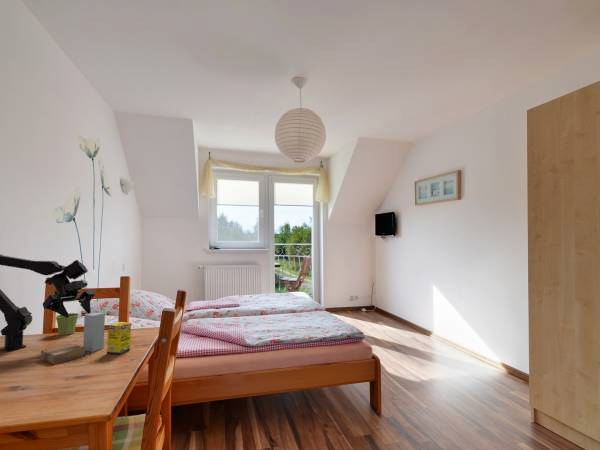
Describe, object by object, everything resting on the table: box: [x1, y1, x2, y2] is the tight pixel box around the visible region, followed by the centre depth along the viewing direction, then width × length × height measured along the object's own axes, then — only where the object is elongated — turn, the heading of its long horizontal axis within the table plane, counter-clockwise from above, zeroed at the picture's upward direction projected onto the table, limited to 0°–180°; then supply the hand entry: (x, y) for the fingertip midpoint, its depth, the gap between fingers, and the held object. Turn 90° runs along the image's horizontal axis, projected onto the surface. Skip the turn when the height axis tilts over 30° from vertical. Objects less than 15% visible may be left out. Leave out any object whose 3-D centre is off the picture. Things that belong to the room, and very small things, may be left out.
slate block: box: [82, 312, 106, 353], centre depth 133 cm, size 5×5×14 cm
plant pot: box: [54, 312, 80, 336], centre depth 156 cm, size 9×9×9 cm
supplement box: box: [106, 321, 132, 355], centre depth 130 cm, size 6×6×11 cm
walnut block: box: [40, 343, 86, 365], centre depth 123 cm, size 10×10×3 cm
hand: (79, 315), depth 136 cm, fingers open, 9 cm apart
